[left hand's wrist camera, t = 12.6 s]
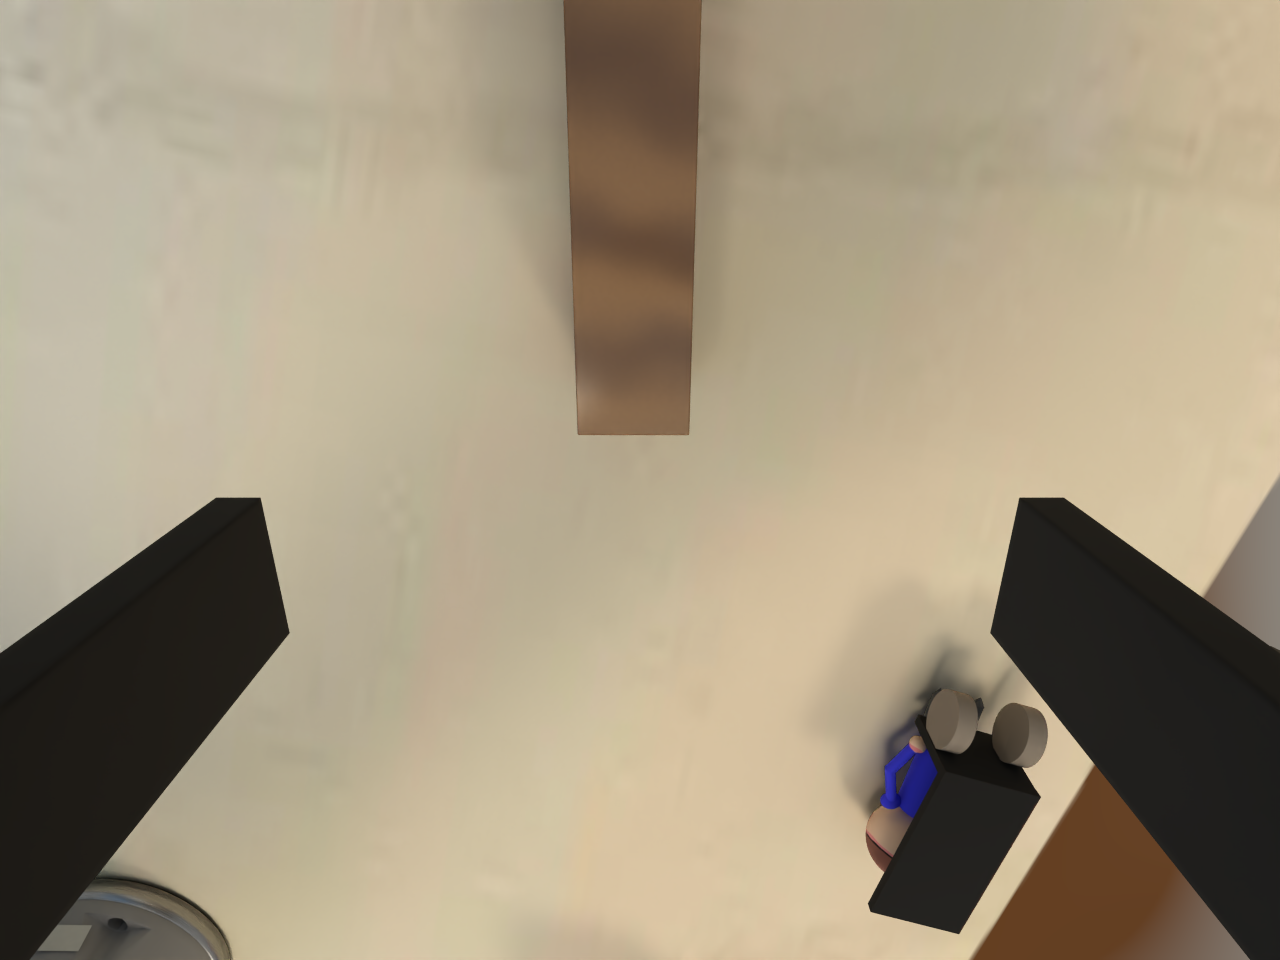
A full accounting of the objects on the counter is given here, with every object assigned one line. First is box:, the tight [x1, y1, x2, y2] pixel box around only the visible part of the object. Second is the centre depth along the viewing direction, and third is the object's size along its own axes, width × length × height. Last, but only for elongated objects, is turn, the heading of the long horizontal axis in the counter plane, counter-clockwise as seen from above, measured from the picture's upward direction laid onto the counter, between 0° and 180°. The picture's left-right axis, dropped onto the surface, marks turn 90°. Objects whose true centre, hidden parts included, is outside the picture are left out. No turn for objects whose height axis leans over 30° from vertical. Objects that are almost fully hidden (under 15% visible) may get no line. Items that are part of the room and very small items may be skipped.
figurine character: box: [866, 688, 1048, 934], centre depth 45 cm, size 7×8×15 cm
